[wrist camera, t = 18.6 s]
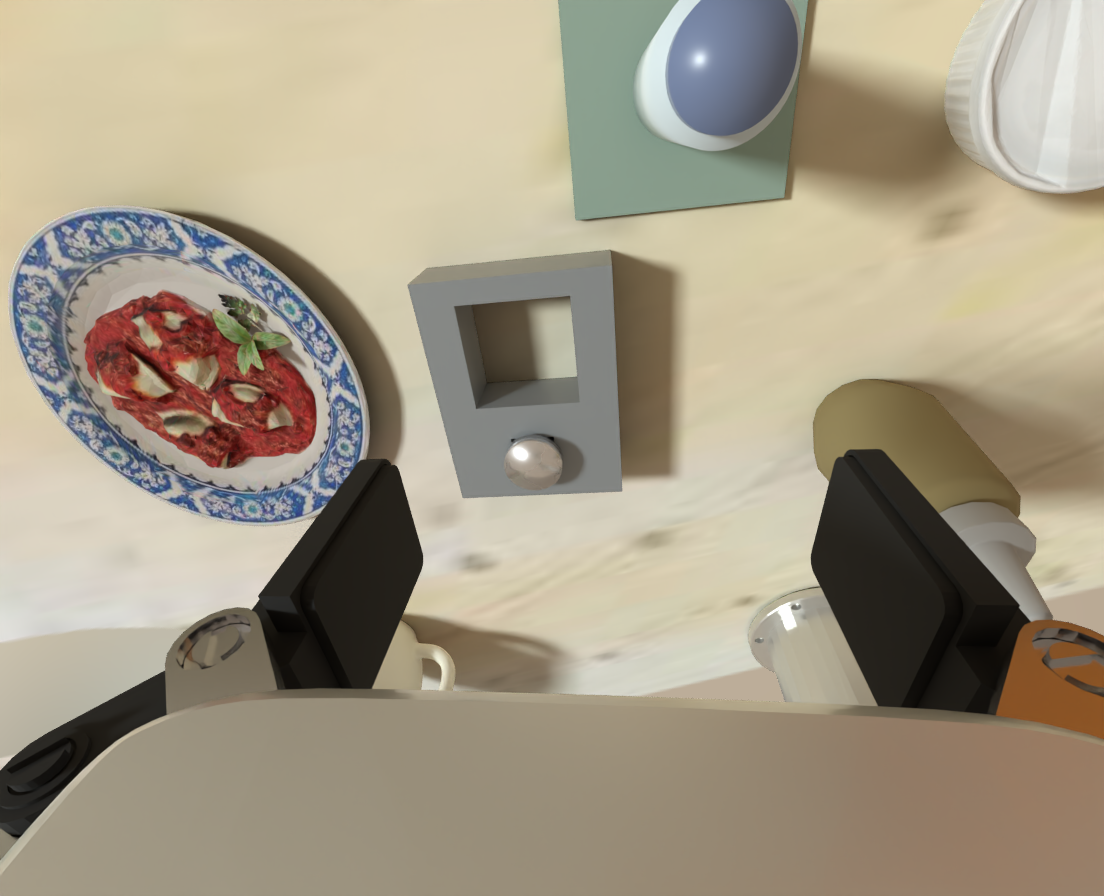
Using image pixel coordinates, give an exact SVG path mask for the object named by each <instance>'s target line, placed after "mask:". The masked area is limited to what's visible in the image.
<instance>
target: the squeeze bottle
mask: <svg viewBox="0 0 1104 896" xmlns="http://www.w3.org/2000/svg"><path fill="white" fill-rule="evenodd" d="M813 437H814V454H815V458H816V462H817V467H818V469H819V470H820V472H821V473H822V474H823V475H824V476H825V477H826V478H827V480H828V481H829V482H830V478H831V474H832V470H833V466H834V463H835V460H836V459H837V458H838V457H844V454H845V453H846V451H848V450H850V449H881V450H883V451H884V452H885V453H886V454H887V455H888V456H889V458H890V459H891V460H892V461H893V462H894V463H895V464H896V466H897V467H898V468H899V469H900V470H901V471H902V472H903V473H904V475H905V476H906V477H907V478H908V479H909V480H910V481H911V482H912V484H913V485H914V486H915V487H916V488H917V489H918V490H919V492H920V493H921V494H922V495H923V496H924V497H925V498H926V499H927V501H928V502H929V503H930V504H931V505H932V506H933V507H934V508H935V510H936V511H937V512H938V513H939V514H940V515H941V516H942V518H943V519H944V520H945V521H946V522H947V523H948V524H949V525H950V527H951V528H952V529H953V530H954V531H955V532H956V533H957V534H958V536H959V537H960V538H961V539H962V540H963V541H964V542H965V543H966V545H967V546H968V547H969V548H970V549H971V550H972V551H973V553H974V554H975V555H976V556H977V557H978V558H979V559H980V560H981V562H982V563H983V564H984V565H985V566H986V567H987V568H988V569H989V571H990V572H991V573H992V574H993V575H994V576H995V577H996V579H997V580H998V581H999V582H1000V583H1001V584H1002V585H1003V586H1004V588H1005V589H1006V590H1007V591H1008V592H1009V593H1010V594H1011V595H1012V597H1013V598H1014V599H1015V600H1016V601H1017V602H1018V603H1019V605H1020V607H1019V608H1020V610H1021V611H1022V612H1023V613H1024V614H1025V615H1026V616H1027V618H1028V619H1029V620H1030V621H1031V622H1033V621H1035V620H1052V618H1053V616H1052V614H1051V612H1050V610H1049V609H1048V607H1047V605H1046V603H1045V601H1044V600H1043V598H1042V596H1041V594H1040V593H1039V591H1038V589H1037V587H1036V586H1035V584H1034V582H1033V580H1032V579H1031V577H1030V575H1029V573H1028V571H1027V570H1026V568H1025V567H1026V566H1027V564H1028V563H1029V561H1030V560H1031V558H1032V557H1033V555H1034V554H1035V551H1036V537H1035V536H1034V535H1033V534H1032V532H1031V531H1030V530H1029V529H1028V527H1027V526H1026V525H1024V524H1023V523H1022V522H1021V521H1020V520H1019V519H1018V517H1019V515H1020V495H1019V494H1018V492H1017V491H1016V490H1015V488H1014V487H1013V486H1012V484H1011V483H1010V482H1009V481H1008V480H1007V478H1006V477H1005V476H1004V475H1003V474H1002V473H1001V472H1000V471H999V469H998V468H997V467H996V466H995V465H994V464H993V463H992V461H991V460H990V459H989V458H988V457H987V456H986V455H985V454H984V452H983V451H982V450H981V449H980V448H979V447H978V446H977V445H976V443H975V442H974V441H973V440H972V439H971V438H970V437H969V435H968V434H967V433H966V432H965V431H964V430H963V429H962V428H961V426H960V425H959V424H958V423H957V422H956V421H955V420H954V419H953V417H952V416H951V415H950V414H949V413H948V412H947V411H946V409H945V408H944V407H943V406H942V405H941V404H940V403H939V402H938V400H937V399H936V398H935V397H934V396H932V395H930V394H928V393H925V392H923V391H920V390H918V389H915V388H913V387H909V386H904V385H900V384H896V383H891V382H887V381H882V380H878V379H862V380H857V381H854V382H851V383H848V384H845V385H842V386H841V387H839V388H838V389H836V390H835V391H833V392H832V393H830V394H829V395H828V396H827V397H826V398H825V399H824V400H823V402H822V403H821V404H820V406H819V407H818V408H817V411H816V414H815V418H814V421H813Z"/></svg>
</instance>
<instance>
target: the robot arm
mask: <svg viewBox="0 0 1104 896" xmlns="http://www.w3.org/2000/svg"><path fill="white" fill-rule="evenodd" d="M811 565H812V569H813V572H814V574H815V576H816V578H817V580H818V582H819V585H820V587H819V588H812V589H806V590H802V591H798V592H794V593H791V594H789V595H786V596H784V597H781V598H779V599H778V600H776V601H774V602H772V603H771V604H769V605H768V606H767V607H765V608H764V609H763V610H762V611H761V612H760V613H759V614H758V615H757V616H756V617H755V618H754V620H753V622H752V624H751V626H750V629H749V633H748V639H749V645H750V648H751V651H752V654H753V655H754V657H755V659H756V660H757V661H758V662H759V663H760V664H761V665H762V666H764V667H765V668H767V669H769V670H770V671H772V672H775V673H776V675H777V679H778V682H779V685H780V688H781V691H782V694H783V697H784V700H785V702H770V701H745V700H720V699H694V698H664V697H636V696H607V695H576V694H546V693H513V692H477V691H442V690H406V689H372V687H373V685H374V682H375V680H376V678H377V675H378V673H379V670H380V668H381V666H382V663H383V661H384V658H385V656H386V654H387V651H388V649H389V646H390V644H391V642H392V639H393V637H394V634H395V632H396V630H397V627H398V625H399V622H400V620H401V618H402V615H403V613H404V610H405V608H406V606H407V603H408V601H409V598H410V596H411V594H412V591H413V589H414V586H415V584H416V582H417V579H418V577H419V574H420V572H421V569H422V566H423V553H422V549H421V546H420V542H419V539H418V535H417V532H416V528H415V525H414V521H413V518H412V514H411V511H410V507H409V504H408V500H407V497H406V493H405V490H404V486H403V483H402V479H401V476H400V472H399V470H398V468H397V466H395V465H391V463H390V462H389V461H388V460H387V459H363V460H360V461H359V462H358V463H357V464H356V466H355V467H354V468H353V470H352V471H351V472H350V474H349V475H348V476H347V478H346V479H345V480H344V482H343V483H342V484H341V486H340V487H339V488H338V490H337V491H336V492H335V494H334V495H333V496H332V498H331V499H330V500H329V502H328V503H327V504H326V506H325V507H324V509H323V510H322V511H321V513H320V514H319V515H318V517H317V518H316V519H315V521H314V522H313V523H312V525H311V526H310V527H309V529H308V530H307V531H306V533H305V534H304V535H303V537H302V538H301V539H300V541H299V542H298V543H297V545H296V546H295V547H294V549H293V550H292V551H291V553H290V554H289V555H288V557H287V558H286V559H285V561H284V562H283V563H282V565H281V566H280V568H279V569H278V570H277V572H276V573H275V574H274V576H273V577H272V578H271V580H270V581H269V582H268V584H267V585H266V586H265V588H264V589H263V590H262V592H261V593H260V594H259V596H258V597H259V599H260V600H259V601H258V602H257V604H256V605H255V606H254V608H253V609H252V610H250V609H248V608H239V607H237V608H230V609H224V610H222V611H219V612H216V613H213V614H210V615H209V616H207V617H205V618H203V619H201V620H199V621H198V622H196V623H195V624H193V625H192V626H191V627H189V628H188V629H187V630H186V631H184V632H183V633H182V634H181V635H180V637H179V638H178V639H177V640H176V641H175V642H174V643H173V645H172V647H171V648H170V650H169V652H168V653H167V657H166V662H165V671H163V672H161V673H159V674H158V675H156V676H154V677H152V678H150V679H148V680H146V681H144V682H142V683H141V684H139V685H137V686H135V687H133V688H131V689H129V690H127V691H125V692H124V693H122V694H120V695H118V696H116V697H114V698H112V699H110V700H109V701H107V702H105V703H103V704H101V705H99V706H98V707H96V708H94V709H92V710H90V711H88V712H86V713H84V714H82V715H80V716H78V717H77V718H75V719H73V720H71V721H69V722H67V723H65V724H63V725H61V726H60V727H58V728H56V729H54V730H52V731H50V732H48V733H47V734H45V735H43V736H42V737H40V738H39V739H37V740H35V741H34V742H32V743H30V744H29V745H28V746H27V747H25V748H24V749H23V750H22V751H20V752H19V753H18V754H17V755H15V756H14V757H13V758H12V759H11V760H10V761H9V762H8V763H7V764H6V765H5V766H4V767H3V768H2V769H1V771H0V896H1104V636H1103V635H1101V634H1099V633H1097V632H1095V631H1093V630H1091V629H1088V628H1085V627H1082V626H1079V625H1076V624H1073V623H1069V622H1063V621H1057V620H1035V621H1033V622H1031V621H1030V620H1029V619H1028V618H1027V616H1026V615H1025V614H1024V613H1023V612H1022V611H1021V610H1020V608H1019V607H1020V605H1019V603H1018V602H1017V601H1016V600H1015V599H1014V598H1013V597H1012V595H1011V594H1010V593H1009V592H1008V591H1007V590H1006V589H1005V588H1004V586H1003V585H1002V584H1001V583H1000V582H999V581H998V580H997V579H996V577H995V576H994V575H993V574H992V573H991V572H990V571H989V569H988V568H987V567H986V566H985V565H984V564H983V563H982V562H981V560H980V559H979V558H978V557H977V556H976V555H975V554H974V553H973V551H972V550H971V549H970V548H969V547H968V546H967V545H966V543H965V542H964V541H963V540H962V539H961V538H960V537H959V536H958V534H957V533H956V532H955V531H954V530H953V529H952V528H951V527H950V525H949V524H948V523H947V522H946V521H945V520H944V519H943V518H942V516H941V515H940V514H939V513H938V512H937V511H936V510H935V508H934V507H933V506H932V505H931V504H930V503H929V502H928V501H927V499H926V498H925V497H924V496H923V495H922V494H921V493H920V492H919V490H918V489H917V488H916V487H915V486H914V485H913V484H912V482H911V481H910V480H909V479H908V478H907V477H906V476H905V475H904V473H903V472H902V471H901V470H900V469H899V468H898V467H897V466H896V464H895V463H894V462H893V461H892V460H891V459H890V458H889V456H888V455H887V454H886V453H885V452H884V451H883V450H881V449H850V450H848V451H846V453H845V454H844V457H838V458H837V459H836V460H835V463H834V466H833V470H832V474H831V478H830V482H829V486H828V490H827V494H826V498H825V501H824V505H823V509H822V513H821V517H820V521H819V525H818V529H817V533H816V537H815V541H814V545H813V549H812V553H811Z"/></svg>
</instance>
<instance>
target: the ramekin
mask: <svg viewBox="0 0 1104 896" xmlns="http://www.w3.org/2000/svg"><path fill="white" fill-rule="evenodd" d="M944 109H945V114H946V123H947V124H948V126H949V131H950V134H951V135H952V137H953V139H954V141H955V143H956V144H957V145H958V146H959V147H960V149H961V150H962V152H963V153H965V154H966V155H967V156H968V157H969V158H970V159H971V160H973V161H974V162H976V163H977V164H978V165H980V166H982V167H985V168H987V169H989V170H991V171H993V172H994V173H995V174H996V175H997V176H999V177H1000V178H1002V179H1003V180H1004V181H1006V182H1008V183H1010V184H1012V185H1014V186H1017V187H1020V188H1023V189H1026V190H1030V191H1035V192H1042V193H1052V194H1069V193H1078V192H1084V191H1089V190H1094V189H1099V188H1102V187H1104V0H984V2H983V3H982V5H981V7H980V8H979V10H978V11H977V12H976V13H975V14H974V16H973V17H972V19H971V21H970V23H969V25H968V27H967V28H966V30H965V31H964V32H963V34H962V37H961V40H960V42H959V44H958V45H957V47H956V50H955V53H954V56H953V59H952V61H951V63H950V68H949V73H948V76H947V79H946V89H945V107H944Z"/></svg>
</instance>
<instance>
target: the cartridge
mask: <svg viewBox="0 0 1104 896" xmlns="http://www.w3.org/2000/svg"><path fill="white" fill-rule="evenodd" d="M801 52H802V32H801V26H800V20H799V17H798V13H797V10H796V8H795V6H794V3H793V1H792V0H679V1H678V2H677V3H676V5H675V6H674V7H673V8H672V10H671V11H670V13H669V15H668V16H667V18H666V19H665V21H664V22H663V24H662V25H661V27H660V28H659V30H658V31H657V33H656V34H655V36H654V37H653V39H652V40H651V42H650V43H649V45H648V46H647V48H646V49H645V51H644V53H643V54H642V56H641V58H640V60H639V62H638V65H637V67H636V70H635V74H634V79H633V91H632V93H633V103H634V107H635V111H636V114H637V116H638V118H639V120H640V122H641V123H642V125H643V126H644V127H645V128H646V129H647V130H648V131H649V132H650V133H651V134H652V135H654V136H656V137H657V138H660V139H662V140H666V141H670V142H673V143H677V144H681V145H684V146H688V147H692V148H695V149H699V150H705V151H721V150H726V149H730V148H733V147H736V146H739V145H741V144H743V143H745V142H747V141H749V140H750V139H752V138H753V137H755V136H756V135H757V134H759V133H760V132H761V131H762V130H764V129H765V128H766V127H767V126H768V125H769V124H770V123H771V122H772V120H773V119H774V118H775V117H776V115H777V114H778V113H779V112H780V110H781V109H782V107H783V105H784V104H785V102H786V101H787V99H788V97H789V95H790V93H791V91H792V88H793V86H794V83H795V80H796V77H797V74H798V70H799V66H800V60H801Z"/></svg>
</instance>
